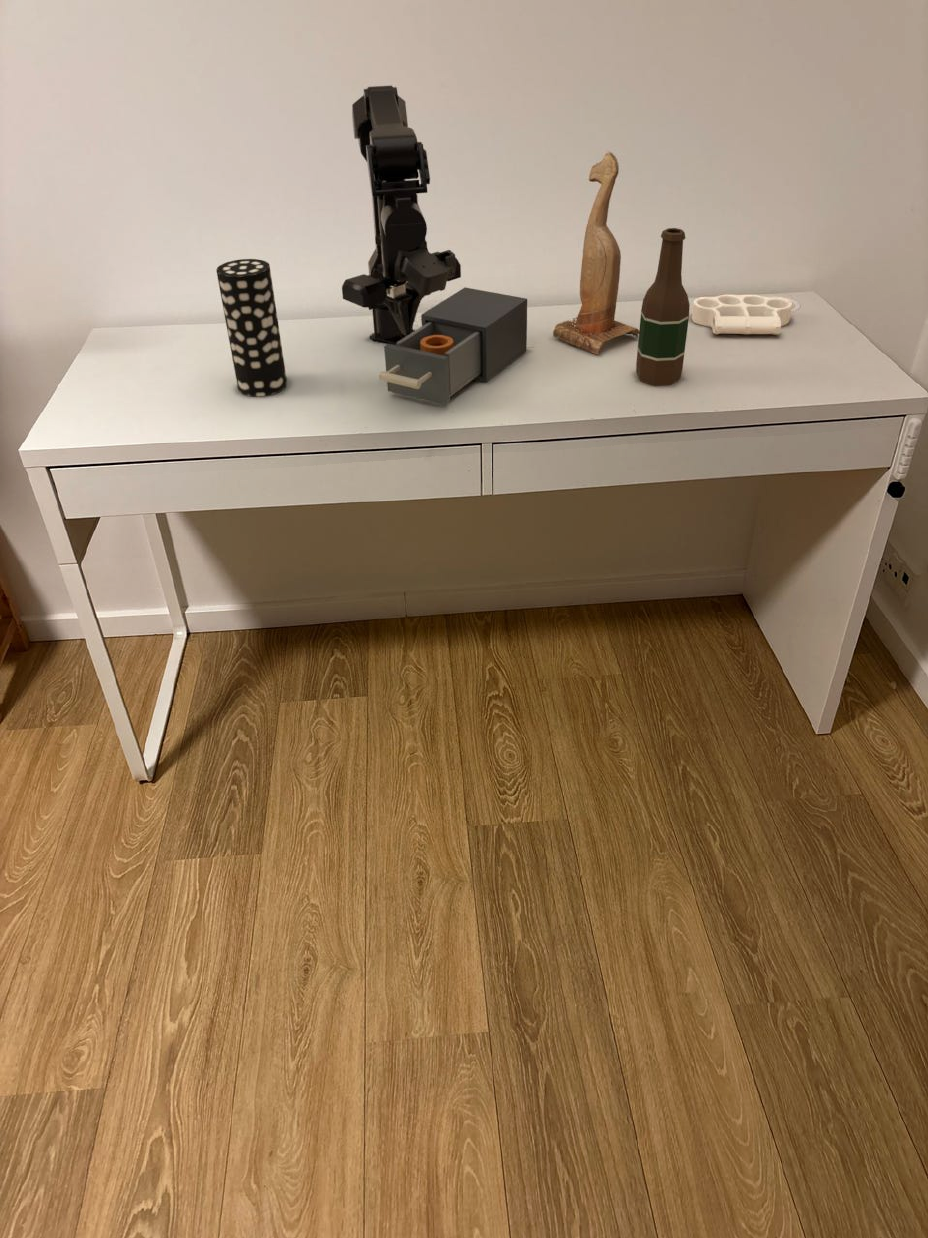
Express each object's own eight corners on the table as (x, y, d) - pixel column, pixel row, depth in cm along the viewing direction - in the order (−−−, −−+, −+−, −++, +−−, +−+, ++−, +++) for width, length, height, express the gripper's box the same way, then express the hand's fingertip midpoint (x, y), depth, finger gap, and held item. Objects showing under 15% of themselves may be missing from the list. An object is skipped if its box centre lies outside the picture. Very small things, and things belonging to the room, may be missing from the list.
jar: (416, 378, 161) (414, 344, 157) (433, 366, 165) (431, 332, 161) (443, 385, 159) (442, 350, 155) (460, 372, 162) (459, 338, 159)
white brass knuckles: (696, 338, 176) (688, 308, 188) (797, 339, 175) (783, 308, 186) (698, 320, 174) (690, 291, 185) (800, 320, 173) (786, 291, 184)
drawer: (430, 417, 152) (427, 371, 147) (370, 402, 157) (366, 357, 152) (487, 373, 164) (487, 329, 160) (430, 361, 169) (428, 317, 164)
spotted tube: (240, 377, 168) (219, 260, 156) (288, 374, 168) (271, 257, 156) (235, 397, 161) (213, 277, 149) (285, 394, 162) (267, 274, 149)
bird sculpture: (590, 322, 183) (600, 137, 163) (640, 338, 177) (657, 148, 157) (551, 339, 177) (557, 150, 157) (601, 357, 171) (614, 161, 151)
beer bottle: (684, 370, 166) (703, 224, 151) (677, 389, 160) (695, 239, 145) (639, 364, 168) (653, 220, 153) (630, 383, 162) (643, 235, 147)
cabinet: (486, 382, 164) (486, 327, 158) (423, 368, 169) (420, 314, 163) (526, 351, 174) (527, 298, 168) (466, 338, 179) (464, 286, 173)
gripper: (383, 257, 130) (391, 367, 140) (484, 226, 140) (486, 331, 149) (334, 239, 137) (345, 346, 146) (434, 211, 146) (439, 313, 156)
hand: (406, 334), depth 149 cm, fingers closed
